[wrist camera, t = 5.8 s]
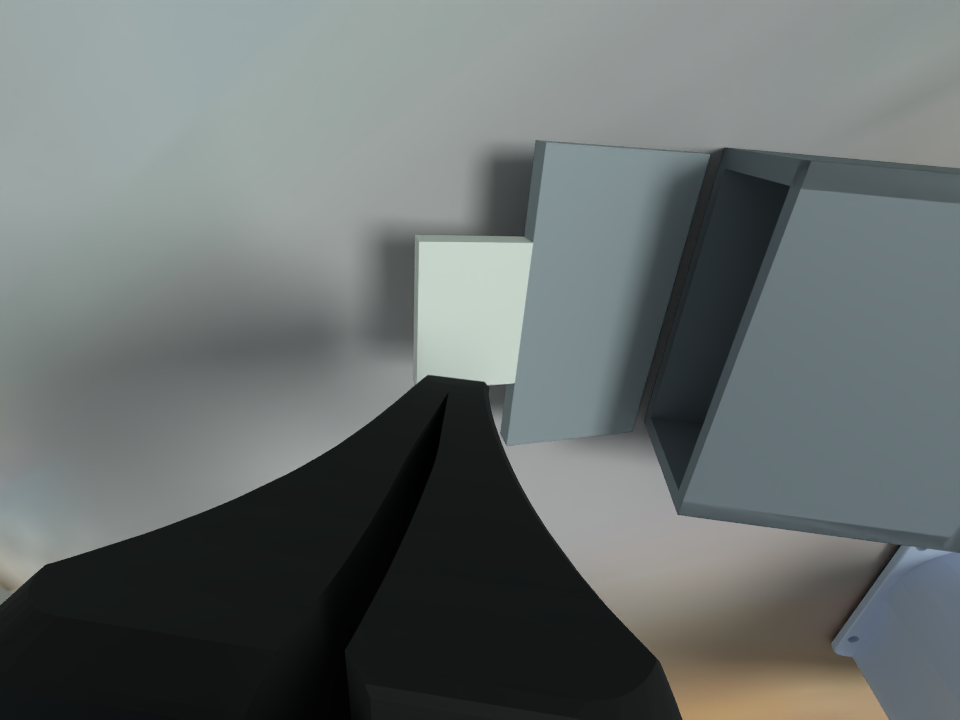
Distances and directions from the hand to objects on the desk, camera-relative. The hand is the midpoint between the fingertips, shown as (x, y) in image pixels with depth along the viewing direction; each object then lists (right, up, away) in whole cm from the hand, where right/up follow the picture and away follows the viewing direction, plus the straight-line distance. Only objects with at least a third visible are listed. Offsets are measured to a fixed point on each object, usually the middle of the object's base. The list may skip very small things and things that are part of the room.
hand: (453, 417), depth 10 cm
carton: (+13, +3, +8) cm, 15 cm away
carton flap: (+7, +3, +7) cm, 11 cm away
